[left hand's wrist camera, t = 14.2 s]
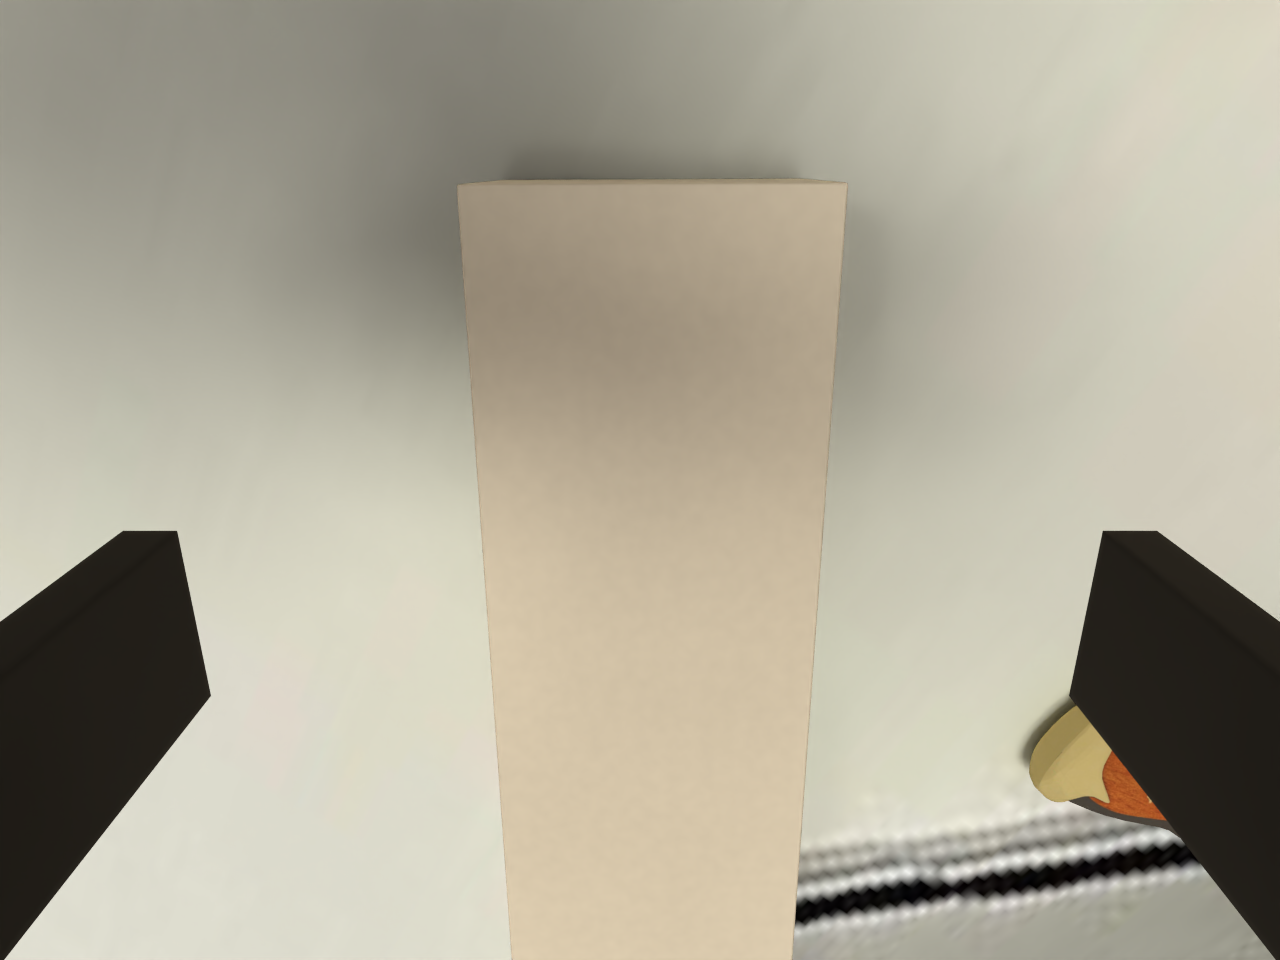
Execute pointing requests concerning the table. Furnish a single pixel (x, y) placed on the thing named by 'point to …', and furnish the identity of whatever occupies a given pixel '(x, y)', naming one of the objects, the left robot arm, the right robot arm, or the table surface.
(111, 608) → the left robot arm
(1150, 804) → the toy gun
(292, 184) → the table surface
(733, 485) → the thick board
